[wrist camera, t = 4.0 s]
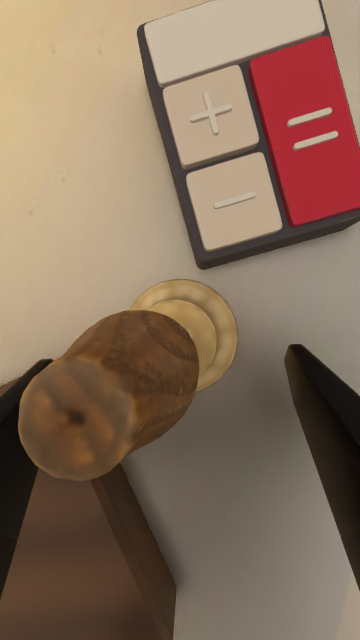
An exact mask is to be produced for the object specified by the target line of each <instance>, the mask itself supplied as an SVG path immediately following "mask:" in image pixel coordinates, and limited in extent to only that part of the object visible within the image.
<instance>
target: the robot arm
mask: <svg viewBox="0 0 360 640" xmlns="http://www.w3.org/2000/svg"><path fill="white" fill-rule="evenodd" d="M52 362H53V360H52V359H42V360H39V361H38V362H37V363H36V364H35V365H34V366H33V367H32V368H30V369H29V370H28V371H27V372H26V373H25V374H24V375H23V376H22V377H21V378H20V379H19V380H17V381H16V382H15V383H14V384H13V385H12V386H11V387H10V388H9V389H8V390H7V391H5V392H4V393H3V394H2V395H1V396H0V600H1V596H2V593H3V589H4V586H5V582H6V579H7V576H8V572H9V569H10V565H11V562H12V558H13V555H14V552H15V548H16V545H17V540H18V537H19V534H20V530H21V527H22V524H23V520H24V517H25V513H26V510H27V506H28V503H29V500H30V496H31V493H32V489H33V486H34V482H35V479H36V476H37V472H38V469H39V467H38V466H36V465H35V464H34V462H33V461H32V460H31V458H30V457H29V456H28V454H27V452H26V451H25V449H24V447H23V445H22V443H21V440H20V436H19V431H18V420H19V408H20V401H21V398H22V395H23V392H24V390H25V389H26V387H27V386H28V385H29V383H30V382H31V380H32V379H33V378H34V377H35V376H36V375H37V374H38V373H40V372H41V371H42V370H43V369H44V368H46V367H47V366H48V365H49V364H50V363H52ZM284 362H285V368H286V372H287V376H288V381H289V385H290V390H291V394H292V398H293V402H294V405H295V408H296V411H297V414H298V417H299V420H300V423H301V426H302V428H303V431H304V434H305V437H306V440H307V443H308V445H309V448H310V451H311V454H312V457H313V460H314V462H315V465H316V468H317V471H318V474H319V477H320V479H321V482H322V485H323V488H324V491H325V494H326V496H327V499H328V502H329V505H330V508H331V511H332V513H333V516H334V519H335V522H336V525H337V528H338V530H339V533H340V535H341V539H342V542H343V545H344V548H345V551H346V554H347V556H348V559H349V562H350V565H351V568H352V571H353V573H354V576H355V579H356V582H357V585H358V587H359V590H360V396H359V395H358V394H357V393H356V392H355V391H354V390H352V389H351V388H350V387H349V386H348V385H347V384H346V383H345V382H343V381H342V380H341V379H340V378H339V377H338V376H337V375H336V374H334V373H333V372H332V371H331V370H330V369H329V368H328V367H327V366H325V365H324V364H323V363H322V362H321V361H320V360H319V359H318V358H316V357H315V356H314V355H313V354H312V353H311V352H310V351H309V350H307V349H306V348H305V347H304V346H303V345H301V344H291V345H289V346H288V349H287V352H286V355H285V359H284Z"/></svg>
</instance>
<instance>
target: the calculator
mask: <svg viewBox="0 0 360 640" xmlns="http://www.w3.org/2000/svg"><path fill="white" fill-rule="evenodd" d="M137 37H138V43H139V48H140V53H141V58H142V63H143V68H144V73H145V78H146V83H147V87H148V91H149V94H150V98H151V102H152V105H153V109H154V112H155V116H156V120H157V123H158V127H159V130H160V132H161V136H162V140H163V143H164V147H165V151H166V154H167V158H168V162H169V165H170V169H171V173H172V176H173V180H174V184H175V187H176V191H177V195H178V198H179V202H180V205H181V209H182V213H183V216H184V220H185V224H186V227H187V231H188V235H189V238H190V242H191V246H192V249H193V253H194V257H195V260H196V264H197V266H198V267H199V268H200V269H207V268H211V267H214V266H218V265H221V264H225V263H228V262H232V261H235V260H239V259H243V258H246V257H250V256H253V255H257V254H260V253H264V252H267V251H271V250H274V249H278V248H281V247H285V246H288V245H292V244H295V243H299V242H302V241H306V240H309V239H313V238H316V237H320V236H324V235H327V234H331V233H334V232H338V231H341V230H344V229H346V228H348V227H349V226H351V225H353V224H355V223H357V222H358V221H360V146H359V142H358V139H357V135H356V131H355V127H354V123H353V120H352V116H351V112H350V108H349V105H348V101H347V97H346V93H345V89H344V86H343V82H342V78H341V74H340V70H339V67H338V63H337V59H336V55H335V51H334V48H333V44H332V40H331V36H330V32H329V29H328V25H327V21H326V17H325V14H324V10H323V6H322V2H321V0H212V1H209V2H206V3H203V4H200V5H197V6H194V7H191V8H188V9H185V10H182V11H180V12H177V13H174V14H171V15H168V16H165V17H162V18H159V19H156V20H153V21H150V22H147V23H144V24H142V25H140V26H139V27H138V29H137Z"/></svg>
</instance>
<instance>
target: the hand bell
mask: <svg viewBox="0 0 360 640" xmlns="http://www.w3.org/2000/svg"><path fill="white" fill-rule="evenodd" d="M237 345H238V329H237V324H236V320H235V317H234V315H233V312H232V310H231V308H230V307H229V305H228V304H227V302H226V301H225V300H224V299H223V298H222V297H221V296H220V295H219V294H218V293H217V292H216V291H214V290H213V289H212V288H210V287H208V286H206V285H204V284H202V283H200V282H196V281H192V280H186V279H175V280H168V281H164V282H161V283H159V284H156V285H154V286H153V287H151V288H149V289H148V290H146V291H145V292H144V293H143V294H142V295H140V296H139V298H138V299H137V300H136V301H135V302H134V304H133V305H132V307H131V309H130V311H123V312H120V313H117V314H113V315H110V316H108V317H106V318H104V319H102V320H100V321H99V322H97V323H96V324H94V325H93V326H92V327H90V328H89V329H87V330H86V331H85V332H84V333H83V334H82V335H81V336H80V337H79V338H78V339H77V340H76V341H75V342H74V343H73V344H72V346H71V347H70V348H69V349H68V351H67V352H66V353H65V354H64V355H63V356H62V357H61V358H59V359H57V360H55V361H53V362H52V363H50V364H49V365H48V366H47V367H46V368H44V369H43V370H42V371H41V372H40V373H38V374H37V375H36V376H35V377H34V378H33V379H32V380H31V382H30V383H29V385H28V386H27V387H26V389H25V390H24V392H23V395H22V398H21V401H20V408H19V420H18V431H19V436H20V440H21V443H22V445H23V447H24V449H25V451H26V452H27V454H28V456H29V457H30V458H31V460H32V461H33V462H34V464H35V465H36V466H38V467H39V468H41V469H42V470H44V471H45V472H47V473H48V474H50V475H51V476H53V477H55V478H60V479H66V480H73V481H87V480H90V479H94V478H97V477H99V476H102V475H104V474H106V473H108V472H110V471H111V470H112V469H113V468H114V467H115V466H116V465H117V464H118V463H119V462H120V461H122V460H123V459H124V458H125V457H126V456H127V455H128V454H130V453H131V452H133V451H134V450H136V449H139V448H141V447H143V446H145V445H147V444H149V443H151V442H152V441H154V440H156V439H157V438H159V437H161V436H162V435H163V434H164V433H165V432H167V431H168V430H169V429H170V428H171V427H172V426H173V425H175V424H176V423H177V421H178V420H179V419H180V418H181V417H182V416H183V415H184V413H185V412H186V410H187V409H188V407H189V405H190V403H191V401H192V399H193V397H194V395H195V392H198V391H201V390H203V389H206V388H208V387H209V386H211V385H212V384H214V383H215V382H217V381H218V380H219V379H220V378H221V377H222V376H223V375H224V374H225V373H226V371H227V370H228V369H229V367H230V365H231V363H232V361H233V359H234V357H235V353H236V350H237Z"/></svg>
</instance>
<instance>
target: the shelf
mask: <svg viewBox="0 0 360 640" xmlns="http://www.w3.org/2000/svg"><path fill="white" fill-rule="evenodd" d="M21 377H22V376H21ZM21 377H19V378H17V379H15V380H13V381H11V382H9V383H7V384H5V385H3V386H1V387H0V396H1V395H2V394H3V393H4V392H5V391H7V390H8V389H9V388H10V387H11V386H12V385H13V384H14V383H15V382H16V381H17V380H19V379H20V378H21ZM175 602H176V586H175V583H174V581H173V579H172V577H171V575H170V573H169V570H168V568H167V566H166V564H165V562H164V559H163V557H162V555H161V553H160V551H159V548H158V546H157V544H156V542H155V540H154V537H153V535H152V533H151V531H150V529H149V527H148V524H147V522H146V520H145V518H144V516H143V513H142V511H141V509H140V507H139V505H138V502H137V500H136V498H135V496H134V494H133V491H132V489H131V487H130V485H129V483H128V481H127V478H126V476H125V474H124V472H123V470H122V467H121V465H120V463H118V464H117V465H116V466H115V467H114V468H113V469H112V470H111V471H110V472H108V473H106V474H104V475H102V476H99V477H97V478H94V479H90V480H87V481H73V480H66V479H60V478H55V477H53V476H51V475H50V474H48V473H47V472H45V471H44V470H42V469H41V468H39V469H38V472H37V476H36V479H35V482H34V486H33V489H32V493H31V496H30V500H29V503H28V506H27V510H26V513H25V517H24V520H23V524H22V527H21V530H20V534H19V537H18V540H17V545H16V548H15V552H14V555H13V558H12V562H11V565H10V569H9V572H8V576H7V579H6V582H5V586H4V589H3V593H2V596H1V600H0V640H173V630H174V616H175Z"/></svg>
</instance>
